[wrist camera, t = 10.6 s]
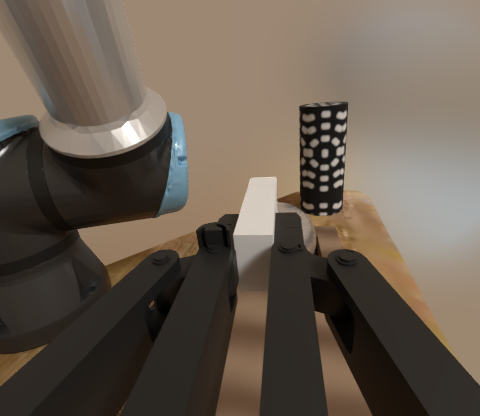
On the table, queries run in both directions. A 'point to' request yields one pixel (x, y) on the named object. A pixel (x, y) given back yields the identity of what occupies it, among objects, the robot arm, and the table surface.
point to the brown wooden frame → (252, 350)
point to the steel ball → (307, 225)
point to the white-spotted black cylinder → (322, 157)
